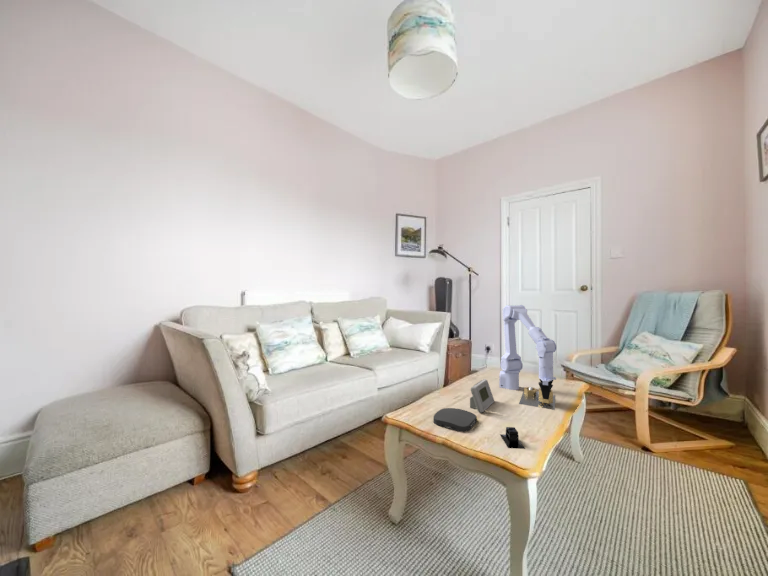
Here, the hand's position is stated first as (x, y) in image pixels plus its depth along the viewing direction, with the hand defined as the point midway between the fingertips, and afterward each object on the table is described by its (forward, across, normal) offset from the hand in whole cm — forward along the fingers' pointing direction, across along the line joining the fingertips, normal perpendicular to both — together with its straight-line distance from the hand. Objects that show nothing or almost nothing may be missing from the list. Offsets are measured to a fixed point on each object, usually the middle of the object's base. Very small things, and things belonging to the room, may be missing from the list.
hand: (545, 396), depth 137 cm
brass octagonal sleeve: (+2, 0, 0) cm, 2 cm away
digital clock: (+4, -16, +24) cm, 30 cm away
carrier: (+4, +4, +4) cm, 6 cm away
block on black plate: (+4, -42, +9) cm, 44 cm away
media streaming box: (+4, -37, +30) cm, 48 cm away
